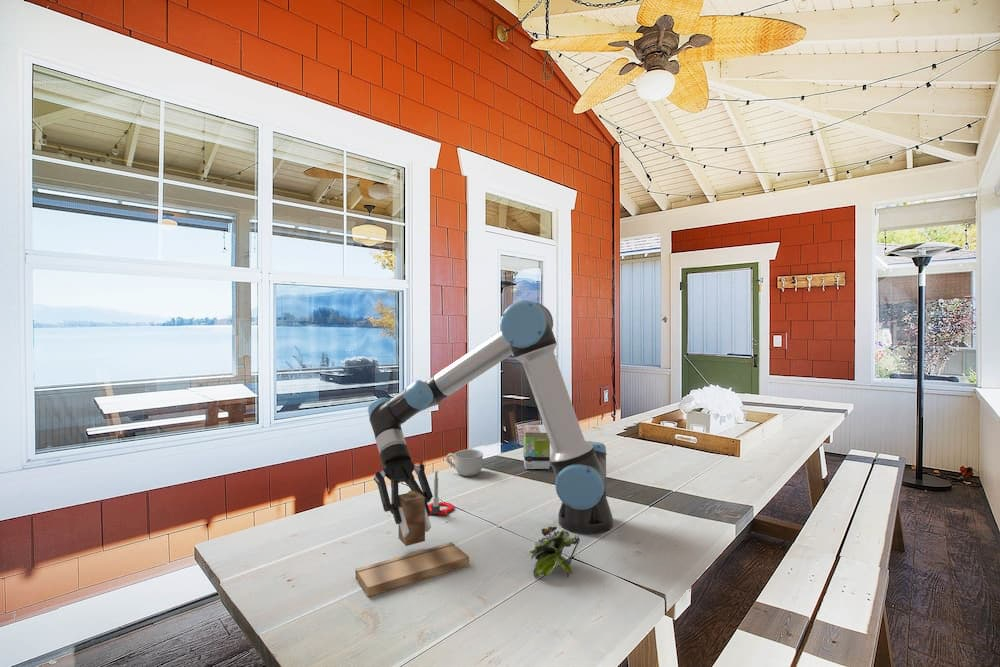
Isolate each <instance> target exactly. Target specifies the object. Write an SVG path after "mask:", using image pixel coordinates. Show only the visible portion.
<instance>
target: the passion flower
mask: <svg viewBox="0 0 1000 667" xmlns="http://www.w3.org/2000/svg"><path fill="white" fill-rule="evenodd" d="M557 528H558V527H557V525H556V526H548V527H547V528H546V527H545V528H541V534H542V535H543V537H541V539H538V541H537V542H535V543H534V549H531V550H529V551H528V552H529V553H530V554H532V555H531V560H533V559H535V560H537V561H536V563H535V565H534V568H533V571H532V573H533V576H534V578H536V577H540V576H545V577H546V576H549V575H550V574H552V573H553V572H554V571H555V570H556V569H557V568H558V566H560V567H561V568H563V571H566V572H567V577H568V576H569V575H570V574H572V573H573V570H572V568H571V564H572V562H573V561H572V560H573V556H574V554H575V551H576V549H577V547H578V545H579V543H580V540H581V539H580V537H579V534H578V535H576V534H575V535H574V536H570V533H569V532H568V530H564V529H562V530H559V531H556V530H557ZM552 533H553V534H552ZM544 536H545V537H544ZM572 545H575V546H574V548H573V551H572V553H571V555H570V556H569V557H567V558H565V557H564V556H563V555H562V553H563V550H564V549H565V547H566V548H570V547H571V546H572Z"/></svg>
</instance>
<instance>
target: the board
mask: <svg viewBox="0 0 1000 667" xmlns="http://www.w3.org/2000/svg"><path fill="white" fill-rule="evenodd" d="M469 565H470V556H469V555H468V554H466V553H465V551H463V550H462V549H461V548H459V547H458V546H457V545H456V544H455V543H453V542H447V543H443V544H440V545H436V546H433V547H429V548H426V549H422V550H418V551H414V552H412V553H408V554H405V555H400V556H398V557H394V558H390V559H387V560H383V561H379V562H376V563H372V564H369V565H365V566H362V567H361V566H360V567H358V568H355V571H354V572H355V573H354V574H355V579H356V581H357V583H358V584H359V585H360V587H361V588H362V590H363V591H365V592H364V593H365V594H367V595H366V596H367V597H368V598H369V597H372V596H374V595H375V596H376V595H378V594H382V593H385V592H388V591H391V590H394V589H397V588H401V587H404V586H406V585H411V584H413V583H417V582H420V581H423V580H425V579H426V580H427V579H429V578H432V577H436V576H439V575H441V574H445V573H449V572H451V571H455V570H457V569H461V568H464V567H467V566H469Z"/></svg>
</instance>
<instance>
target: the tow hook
mask: <svg viewBox="0 0 1000 667" xmlns="http://www.w3.org/2000/svg"><path fill="white" fill-rule="evenodd" d="M433 482H434V483H433V497H432V502H431V503H429V504H428V507H429V510H430V515H429V516H431V515H432V516H447V515H448V513H451V512H452V511H453V510H454V508H455V507H454V504H453V503H450V502H447V501H445V502H444V501H440V500H439V477H438V471H437V470H436V471H434V479H433ZM446 506H447V507H446ZM441 507H446V508H443V509H442V508H441Z"/></svg>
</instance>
